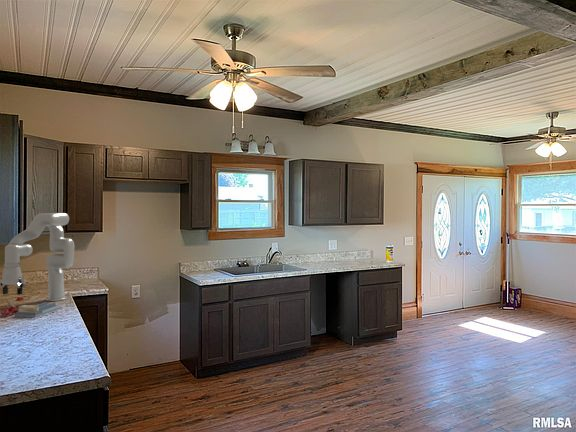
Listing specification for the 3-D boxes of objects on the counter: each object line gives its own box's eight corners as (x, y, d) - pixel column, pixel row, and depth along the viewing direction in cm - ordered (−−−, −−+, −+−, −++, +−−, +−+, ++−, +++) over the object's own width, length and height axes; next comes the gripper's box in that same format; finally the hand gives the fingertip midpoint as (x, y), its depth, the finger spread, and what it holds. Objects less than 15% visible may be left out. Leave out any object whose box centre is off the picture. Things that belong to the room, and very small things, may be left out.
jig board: (43, 307, 278) (42, 301, 278) (62, 307, 276) (61, 302, 276) (14, 316, 256) (14, 310, 255) (35, 317, 253) (35, 311, 253)
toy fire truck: (0, 317, 254) (-1, 300, 254) (19, 311, 267) (19, 296, 267) (5, 317, 253) (4, 301, 253) (24, 311, 267) (23, 296, 266)
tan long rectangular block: (23, 312, 260) (23, 305, 260) (38, 313, 259) (38, 305, 259) (18, 314, 256) (18, 306, 256) (33, 314, 255) (33, 307, 255)
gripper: (-6, 266, 258) (-6, 295, 258) (20, 266, 255) (20, 295, 255) (4, 264, 266) (4, 292, 266) (29, 265, 263) (30, 293, 263)
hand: (12, 294), depth 261 cm, fingers open, 9 cm apart
